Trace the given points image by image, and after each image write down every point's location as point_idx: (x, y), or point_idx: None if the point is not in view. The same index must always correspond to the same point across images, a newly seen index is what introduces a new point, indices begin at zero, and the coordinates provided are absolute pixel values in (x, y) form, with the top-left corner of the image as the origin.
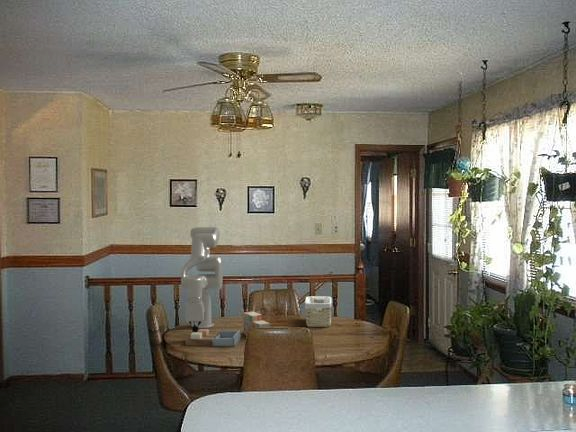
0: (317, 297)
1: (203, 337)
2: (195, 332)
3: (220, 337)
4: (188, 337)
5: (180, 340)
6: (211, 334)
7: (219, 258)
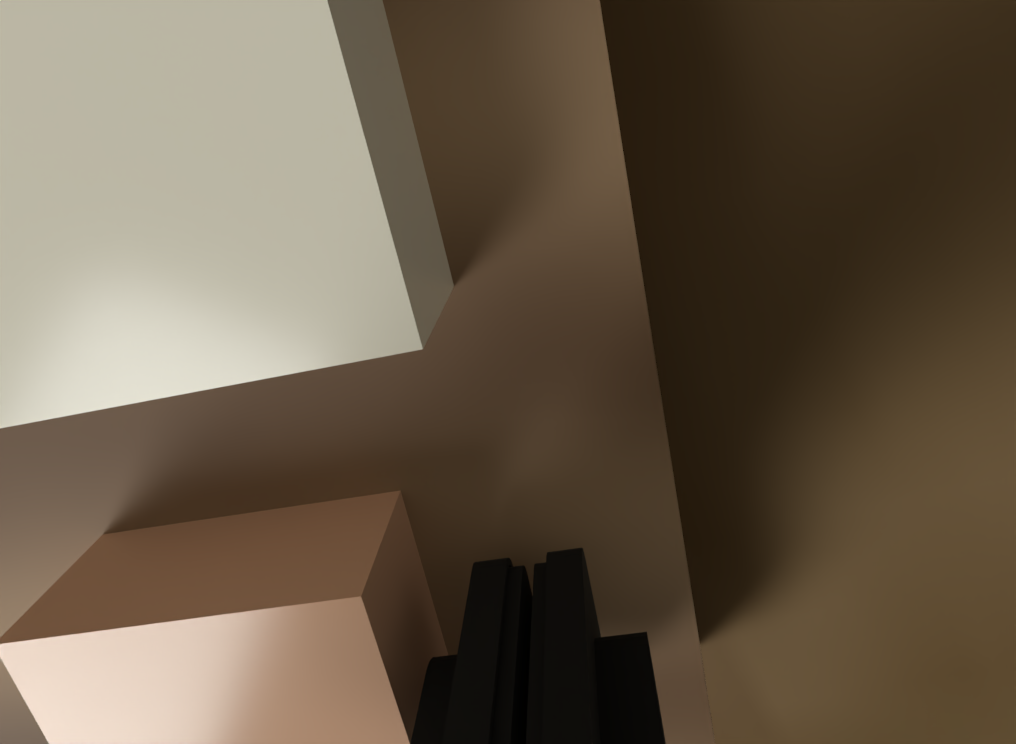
0: None
1: None
2: (282, 330)
3: None
4: (590, 121)
5: (978, 345)
6: None
7: None
